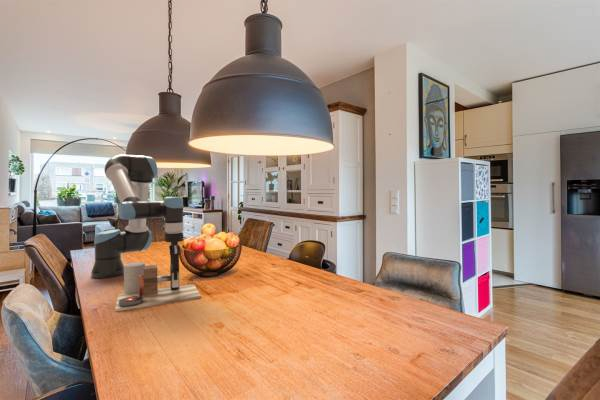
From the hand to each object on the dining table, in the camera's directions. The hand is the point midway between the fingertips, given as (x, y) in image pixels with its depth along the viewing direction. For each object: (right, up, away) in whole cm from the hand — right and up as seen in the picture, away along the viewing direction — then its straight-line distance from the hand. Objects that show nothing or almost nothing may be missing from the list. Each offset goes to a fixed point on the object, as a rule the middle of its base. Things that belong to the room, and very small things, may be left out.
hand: (175, 285), depth 132 cm
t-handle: (-5, -1, -3) cm, 6 cm away
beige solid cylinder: (-18, -3, +1) cm, 18 cm away
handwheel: (-9, -2, -16) cm, 19 cm away
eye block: (-3, -3, -7) cm, 9 cm away
